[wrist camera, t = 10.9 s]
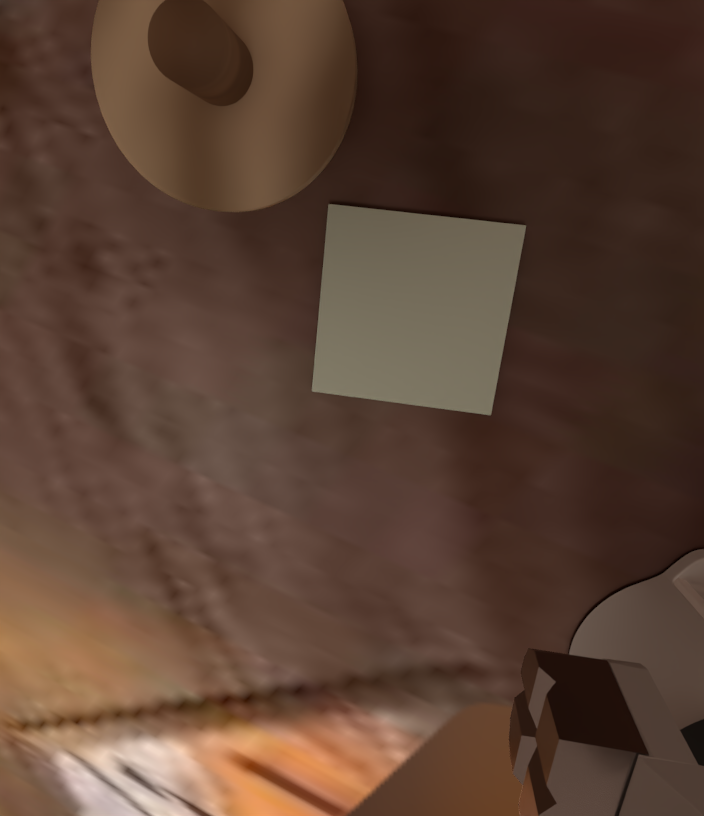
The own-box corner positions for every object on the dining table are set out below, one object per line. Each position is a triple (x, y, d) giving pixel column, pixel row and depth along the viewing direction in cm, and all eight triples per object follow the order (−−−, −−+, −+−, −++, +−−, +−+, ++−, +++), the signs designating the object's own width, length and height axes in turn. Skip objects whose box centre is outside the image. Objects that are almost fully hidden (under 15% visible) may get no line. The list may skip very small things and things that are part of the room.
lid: (372, -70, 25) (360, -146, 20) (343, 225, 28) (327, 223, 23) (101, -90, 26) (25, -167, 21) (106, 198, 29) (43, 191, 24)
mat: (524, 225, 35) (526, 225, 35) (489, 412, 39) (490, 415, 38) (329, 204, 36) (328, 203, 36) (313, 389, 40) (311, 391, 39)
